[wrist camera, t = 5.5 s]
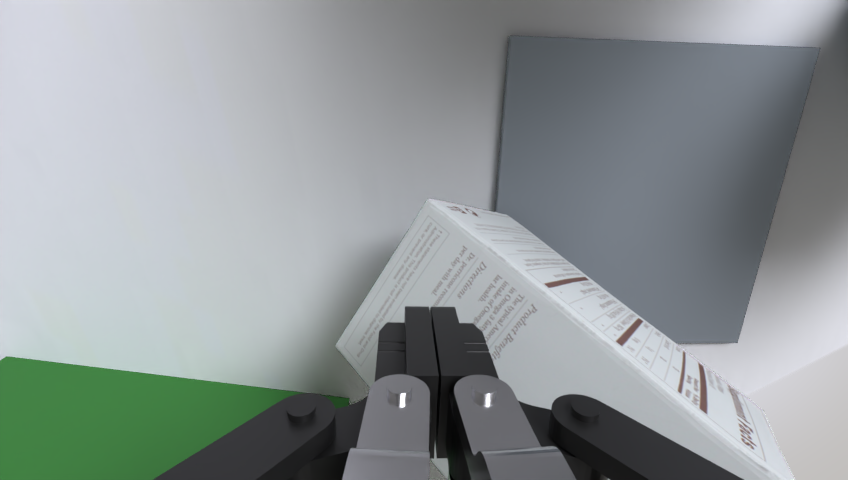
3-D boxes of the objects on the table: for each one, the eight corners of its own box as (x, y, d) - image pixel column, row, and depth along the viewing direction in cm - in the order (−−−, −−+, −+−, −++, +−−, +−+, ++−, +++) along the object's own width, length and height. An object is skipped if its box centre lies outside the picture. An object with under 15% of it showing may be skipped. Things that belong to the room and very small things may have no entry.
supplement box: (425, 323, 24) (633, 534, 18) (327, 345, 17) (600, 680, 12) (506, 209, 22) (769, 410, 16) (428, 188, 15) (818, 507, 10)
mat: (509, 36, 19) (511, 35, 19) (812, 48, 20) (820, 47, 20) (484, 339, 24) (485, 343, 24) (732, 339, 25) (737, 342, 25)
